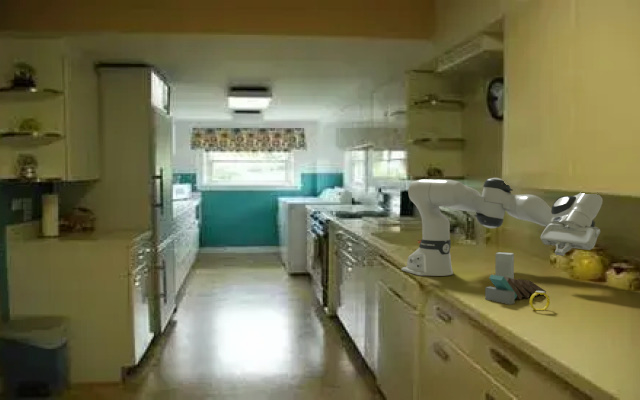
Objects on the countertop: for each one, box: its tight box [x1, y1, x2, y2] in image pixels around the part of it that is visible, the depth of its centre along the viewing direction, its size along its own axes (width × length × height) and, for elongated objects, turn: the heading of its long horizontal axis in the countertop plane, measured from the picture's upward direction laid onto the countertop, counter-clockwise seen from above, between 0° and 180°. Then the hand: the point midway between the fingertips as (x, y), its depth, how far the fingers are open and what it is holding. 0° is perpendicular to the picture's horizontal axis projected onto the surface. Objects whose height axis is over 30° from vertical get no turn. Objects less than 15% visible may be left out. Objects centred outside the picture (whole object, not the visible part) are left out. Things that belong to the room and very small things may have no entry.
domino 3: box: [510, 278, 531, 299], centre depth 212 cm, size 2×5×10 cm
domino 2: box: [497, 275, 523, 301], centre depth 210 cm, size 2×5×10 cm
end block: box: [484, 286, 516, 305], centre depth 207 cm, size 10×2×4 cm, turn 35°
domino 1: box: [488, 274, 517, 300], centre depth 208 cm, size 2×5×10 cm
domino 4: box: [515, 278, 539, 298], centre depth 214 cm, size 2×5×10 cm
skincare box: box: [494, 252, 515, 279], centre depth 236 cm, size 6×4×12 cm
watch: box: [529, 291, 551, 311], centre depth 195 cm, size 6×3×6 cm, turn 96°
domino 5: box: [516, 278, 547, 294], centre depth 216 cm, size 2×5×10 cm
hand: (558, 254), depth 224 cm, fingers closed
